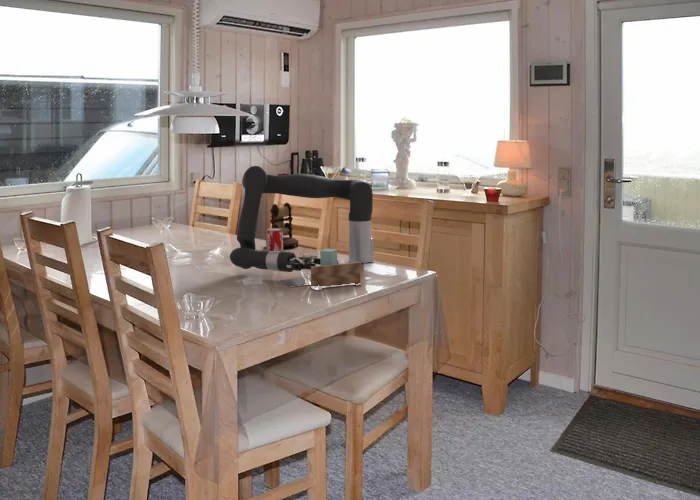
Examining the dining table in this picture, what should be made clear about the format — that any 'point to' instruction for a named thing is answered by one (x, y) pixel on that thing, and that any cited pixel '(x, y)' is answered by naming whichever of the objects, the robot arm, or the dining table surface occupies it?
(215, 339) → the dining table surface
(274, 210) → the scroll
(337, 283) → the walnut screen
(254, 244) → the robot arm
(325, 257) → the teal rectangular block
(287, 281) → the slate coaster
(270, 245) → the soda can
